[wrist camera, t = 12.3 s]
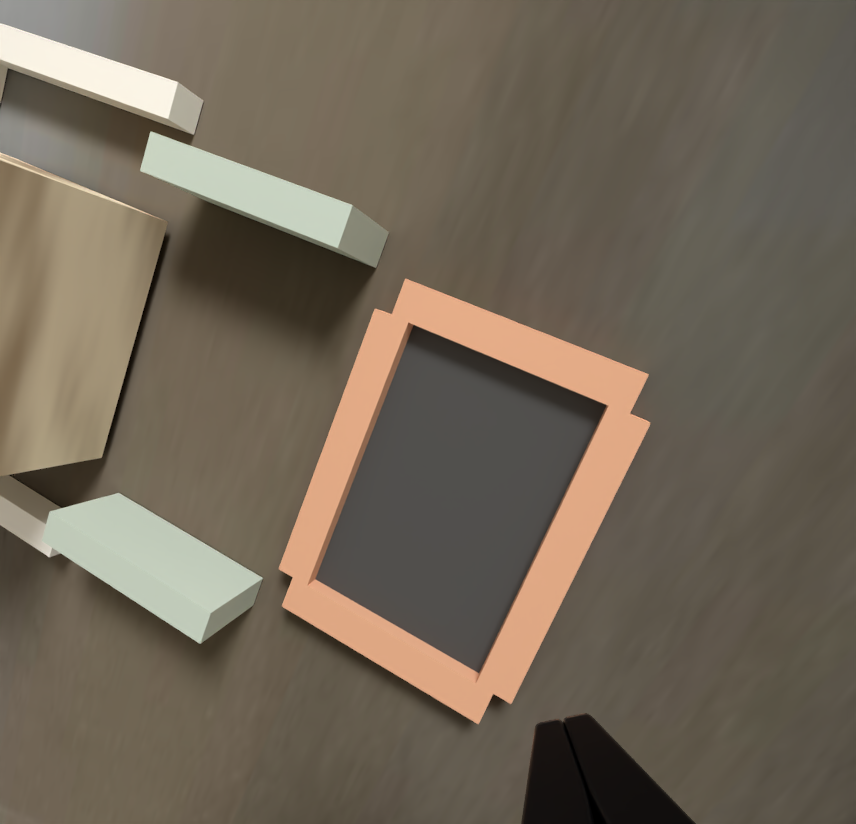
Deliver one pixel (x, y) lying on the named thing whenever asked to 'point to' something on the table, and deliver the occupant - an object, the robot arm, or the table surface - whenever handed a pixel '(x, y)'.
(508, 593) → the frame
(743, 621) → the table surface
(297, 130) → the table surface
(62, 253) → the maple block
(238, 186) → the sage guide walls
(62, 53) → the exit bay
